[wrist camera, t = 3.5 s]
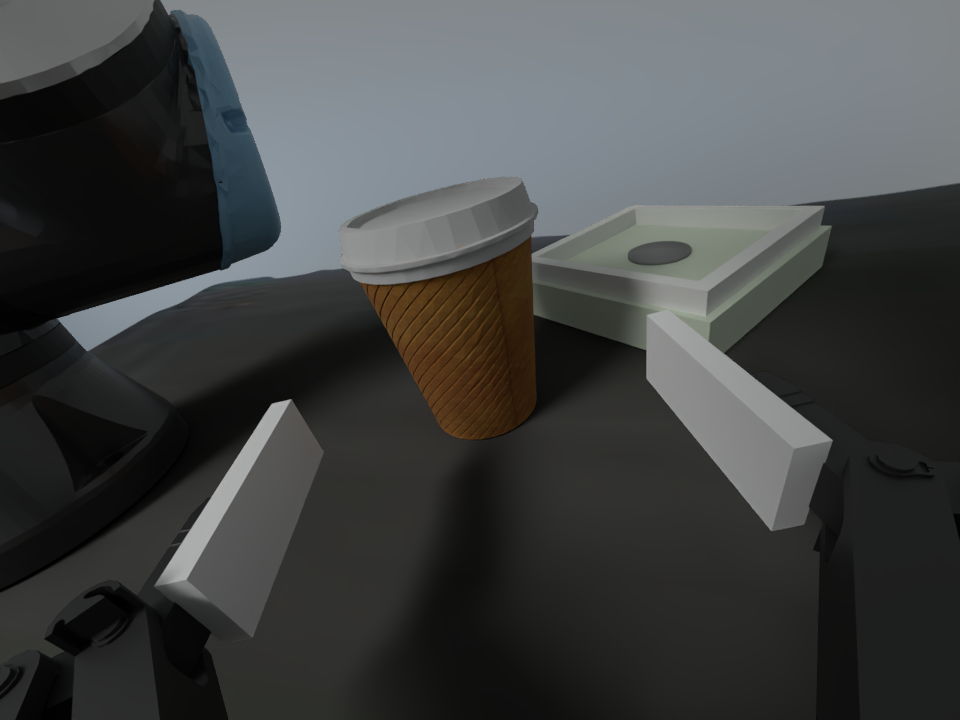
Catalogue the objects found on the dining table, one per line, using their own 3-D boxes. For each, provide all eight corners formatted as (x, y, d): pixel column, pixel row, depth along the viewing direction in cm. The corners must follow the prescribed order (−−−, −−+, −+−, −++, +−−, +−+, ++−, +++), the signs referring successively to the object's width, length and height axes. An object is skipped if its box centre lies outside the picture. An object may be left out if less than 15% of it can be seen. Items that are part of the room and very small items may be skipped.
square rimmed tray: (520, 310, 34) (510, 261, 32) (632, 248, 41) (631, 203, 38) (705, 368, 22) (712, 296, 20) (822, 266, 28) (837, 203, 26)
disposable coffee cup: (412, 382, 28) (346, 212, 22) (540, 348, 28) (509, 168, 22) (409, 483, 20) (301, 255, 13) (589, 435, 20) (563, 185, 13)
